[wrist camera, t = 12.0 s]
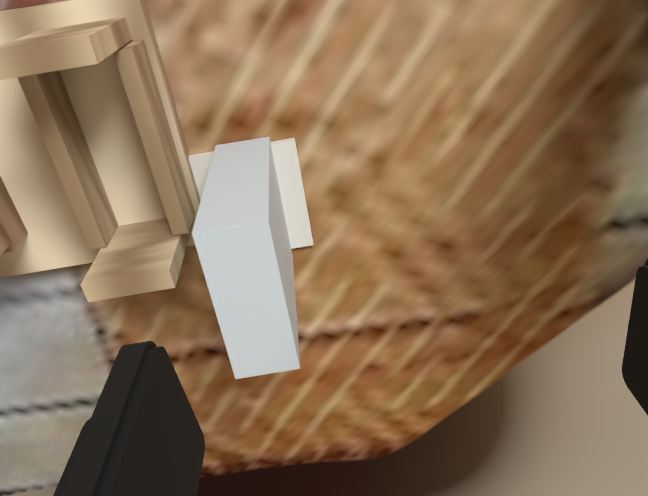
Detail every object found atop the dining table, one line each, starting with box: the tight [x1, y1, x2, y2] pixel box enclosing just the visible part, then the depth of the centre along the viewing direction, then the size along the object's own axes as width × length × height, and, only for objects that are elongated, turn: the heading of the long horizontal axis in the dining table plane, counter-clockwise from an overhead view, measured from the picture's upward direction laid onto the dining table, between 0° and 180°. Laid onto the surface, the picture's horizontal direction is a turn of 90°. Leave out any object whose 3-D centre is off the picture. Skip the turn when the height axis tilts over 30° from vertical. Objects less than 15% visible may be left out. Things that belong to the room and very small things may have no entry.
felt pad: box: [188, 138, 313, 249], centre depth 37 cm, size 7×8×1 cm
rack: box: [0, 0, 201, 302], centre depth 31 cm, size 15×16×8 cm
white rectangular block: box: [192, 137, 300, 379], centre depth 32 cm, size 4×9×12 cm, turn 8°
